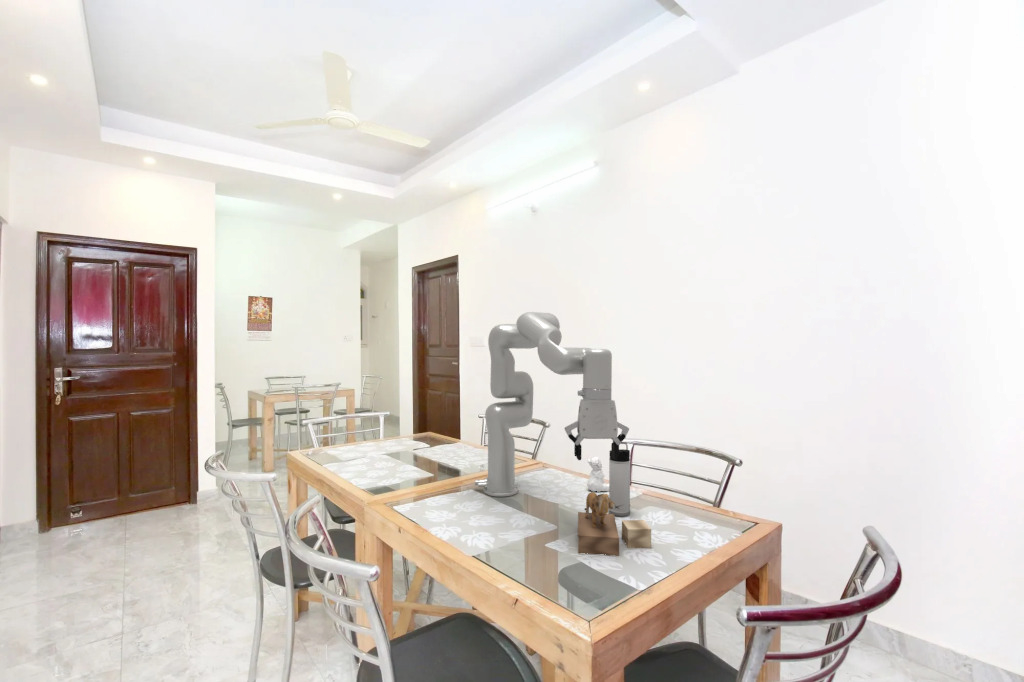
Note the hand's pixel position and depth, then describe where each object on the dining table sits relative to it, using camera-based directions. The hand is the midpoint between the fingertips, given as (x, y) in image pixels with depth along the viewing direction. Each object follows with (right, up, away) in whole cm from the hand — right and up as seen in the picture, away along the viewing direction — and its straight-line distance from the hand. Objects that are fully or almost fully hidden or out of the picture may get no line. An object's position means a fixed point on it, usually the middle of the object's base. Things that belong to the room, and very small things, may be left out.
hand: (596, 458), depth 122 cm
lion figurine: (0, -17, +1) cm, 17 cm away
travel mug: (+11, -22, +19) cm, 31 cm away
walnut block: (0, -22, 0) cm, 22 cm away
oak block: (+10, -22, -2) cm, 24 cm away
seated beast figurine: (+8, -22, +42) cm, 49 cm away
